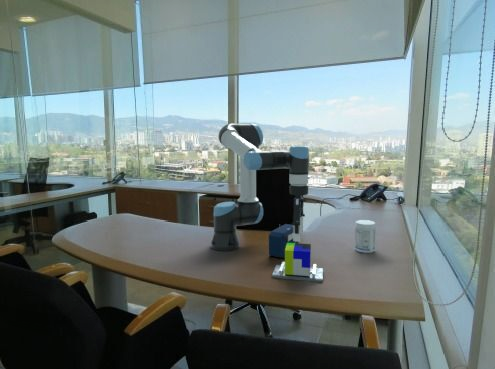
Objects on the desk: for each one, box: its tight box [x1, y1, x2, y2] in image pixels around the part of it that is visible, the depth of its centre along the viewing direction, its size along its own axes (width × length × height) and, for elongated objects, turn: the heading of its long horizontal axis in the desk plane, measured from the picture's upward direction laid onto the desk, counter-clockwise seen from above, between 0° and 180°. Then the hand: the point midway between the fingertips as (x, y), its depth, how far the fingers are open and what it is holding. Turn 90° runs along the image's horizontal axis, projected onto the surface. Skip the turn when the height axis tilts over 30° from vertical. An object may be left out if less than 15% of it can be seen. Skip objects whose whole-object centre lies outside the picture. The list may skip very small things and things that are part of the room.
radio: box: [268, 223, 300, 259], centre depth 158 cm, size 21×9×20 cm, turn 148°
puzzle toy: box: [284, 242, 312, 276], centre depth 131 cm, size 10×10×10 cm
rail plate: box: [271, 261, 324, 283], centre depth 132 cm, size 20×11×3 cm, turn 76°
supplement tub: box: [354, 219, 376, 254], centre depth 159 cm, size 10×10×15 cm
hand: (298, 236), depth 130 cm, fingers open, 12 cm apart
